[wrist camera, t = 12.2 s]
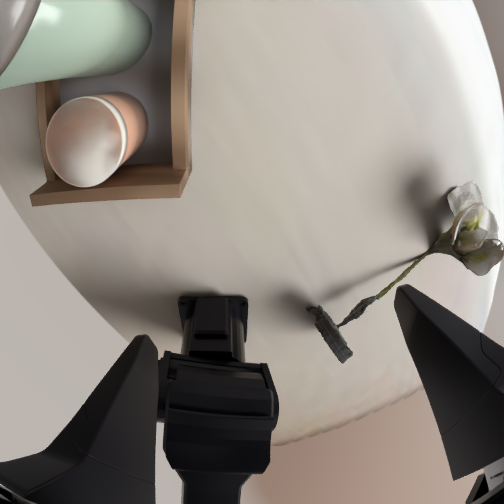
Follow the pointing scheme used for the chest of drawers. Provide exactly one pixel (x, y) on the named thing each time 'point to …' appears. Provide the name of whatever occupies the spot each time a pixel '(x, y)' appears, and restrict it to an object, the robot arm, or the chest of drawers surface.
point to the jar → (95, 136)
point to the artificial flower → (452, 243)
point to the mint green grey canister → (69, 39)
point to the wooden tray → (155, 103)
